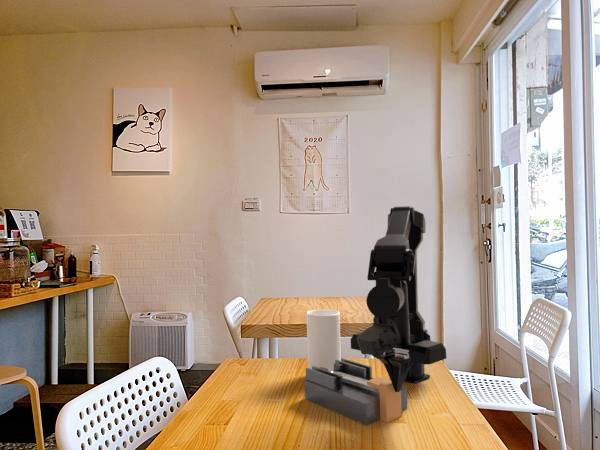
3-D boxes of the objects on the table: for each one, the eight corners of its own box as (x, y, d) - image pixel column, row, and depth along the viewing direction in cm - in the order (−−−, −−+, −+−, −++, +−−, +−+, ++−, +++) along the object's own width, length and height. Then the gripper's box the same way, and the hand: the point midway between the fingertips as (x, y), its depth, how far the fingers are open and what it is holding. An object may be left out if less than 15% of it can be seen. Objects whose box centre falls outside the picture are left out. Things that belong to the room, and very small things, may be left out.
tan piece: (381, 408, 91) (380, 373, 92) (401, 416, 87) (400, 380, 88) (366, 414, 89) (365, 378, 89) (386, 422, 85) (385, 385, 85)
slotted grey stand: (344, 385, 105) (343, 357, 105) (407, 408, 91) (406, 376, 91) (304, 398, 98) (304, 368, 98) (366, 425, 84) (365, 390, 84)
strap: (324, 376, 99) (324, 372, 99) (334, 374, 101) (333, 369, 101) (374, 392, 88) (374, 387, 88) (384, 389, 90) (383, 384, 90)
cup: (339, 383, 107) (337, 315, 107) (305, 381, 109) (303, 315, 109) (342, 372, 115) (341, 309, 115) (311, 370, 117) (309, 309, 117)
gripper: (329, 310, 88) (333, 391, 88) (407, 320, 74) (412, 417, 73) (367, 303, 95) (371, 377, 95) (445, 311, 81) (450, 399, 80)
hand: (397, 391), depth 85 cm, fingers closed
